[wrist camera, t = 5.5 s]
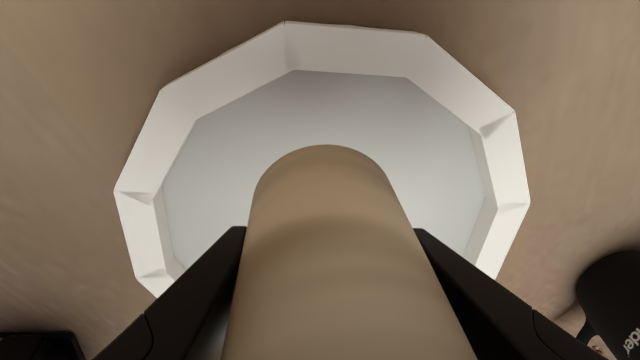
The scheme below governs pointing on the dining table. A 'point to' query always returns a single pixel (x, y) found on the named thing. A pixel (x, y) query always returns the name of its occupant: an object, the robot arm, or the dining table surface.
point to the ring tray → (322, 142)
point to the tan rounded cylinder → (336, 269)
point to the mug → (613, 304)
